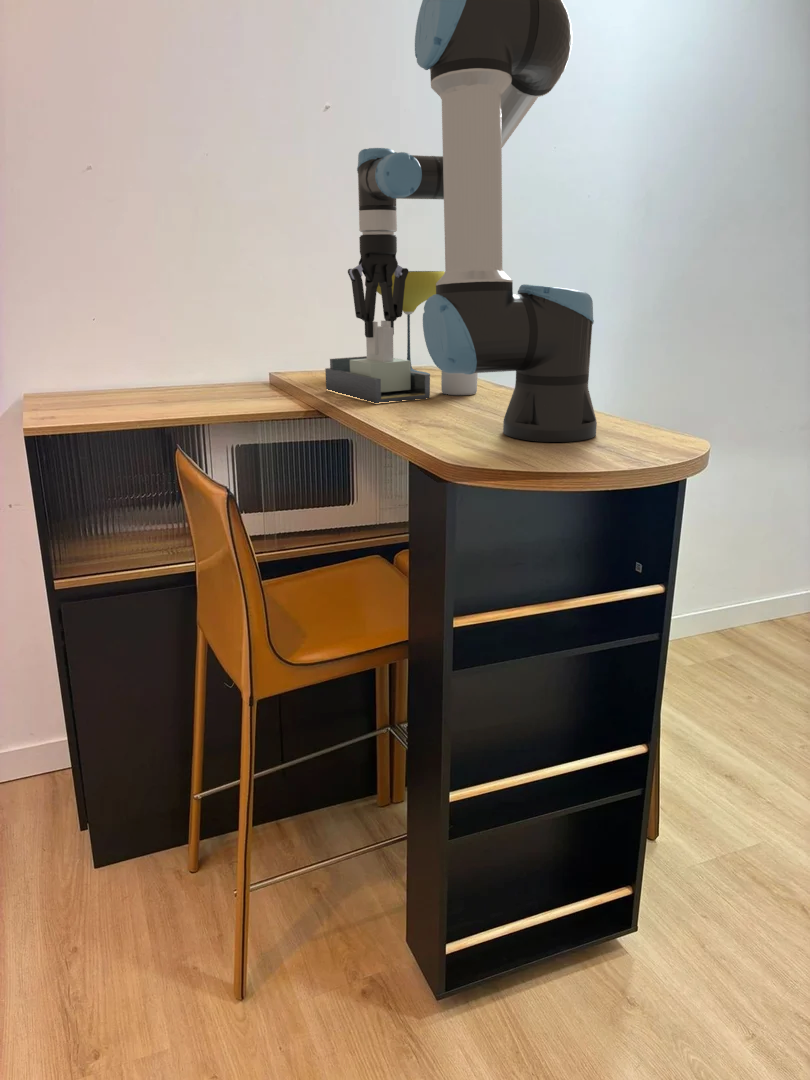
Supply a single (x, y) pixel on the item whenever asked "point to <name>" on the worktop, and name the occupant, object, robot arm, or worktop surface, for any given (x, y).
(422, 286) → the cocktail glass
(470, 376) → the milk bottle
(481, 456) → the worktop surface
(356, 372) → the block with upright handle
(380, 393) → the bay
